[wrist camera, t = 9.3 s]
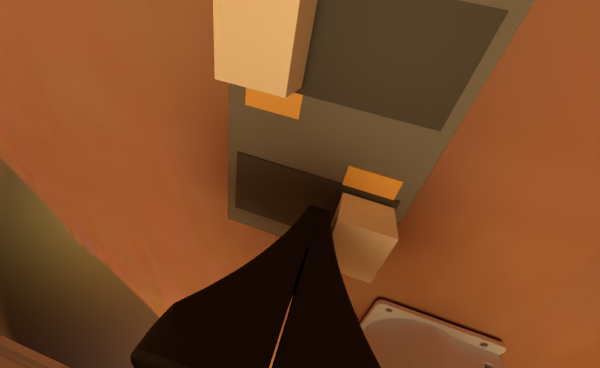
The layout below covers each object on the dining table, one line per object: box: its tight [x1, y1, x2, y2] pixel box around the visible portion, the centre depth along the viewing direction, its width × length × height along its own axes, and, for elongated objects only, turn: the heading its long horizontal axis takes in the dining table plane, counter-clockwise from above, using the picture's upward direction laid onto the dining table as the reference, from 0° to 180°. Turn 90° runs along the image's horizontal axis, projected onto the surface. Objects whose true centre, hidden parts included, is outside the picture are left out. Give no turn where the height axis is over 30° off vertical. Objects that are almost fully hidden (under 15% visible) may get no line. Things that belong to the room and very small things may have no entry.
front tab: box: [213, 0, 318, 98], centre depth 7 cm, size 2×3×2 cm
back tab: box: [331, 192, 399, 284], centre depth 11 cm, size 2×3×2 cm
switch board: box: [228, 0, 535, 237], centre depth 11 cm, size 9×13×3 cm
